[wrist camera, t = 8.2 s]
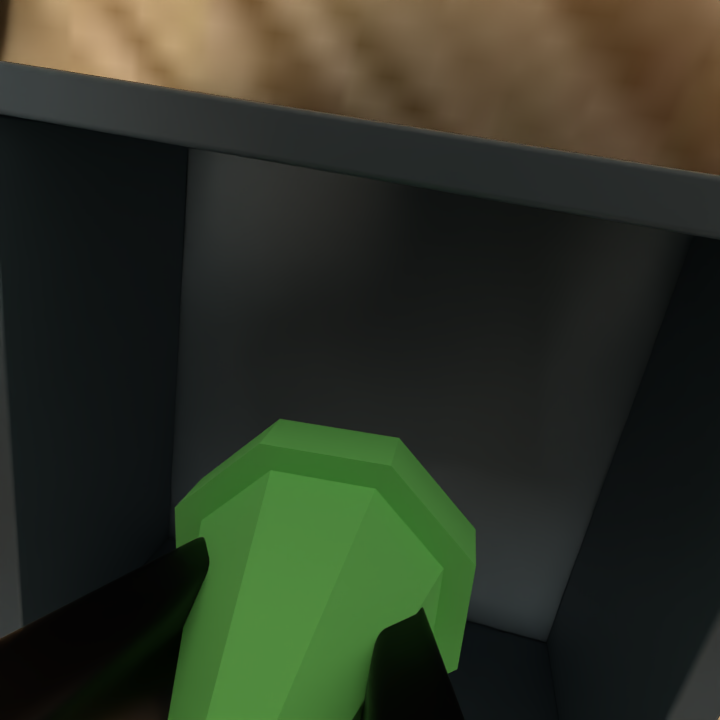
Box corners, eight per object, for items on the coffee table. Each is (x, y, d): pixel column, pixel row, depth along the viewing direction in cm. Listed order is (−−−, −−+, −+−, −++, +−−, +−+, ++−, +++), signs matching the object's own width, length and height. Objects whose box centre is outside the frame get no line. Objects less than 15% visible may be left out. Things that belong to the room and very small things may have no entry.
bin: (559, 647, 14) (611, 924, 9) (160, 535, 16) (0, 714, 10) (727, 200, 10) (992, 217, 5) (178, 109, 12) (-59, 51, 7)
